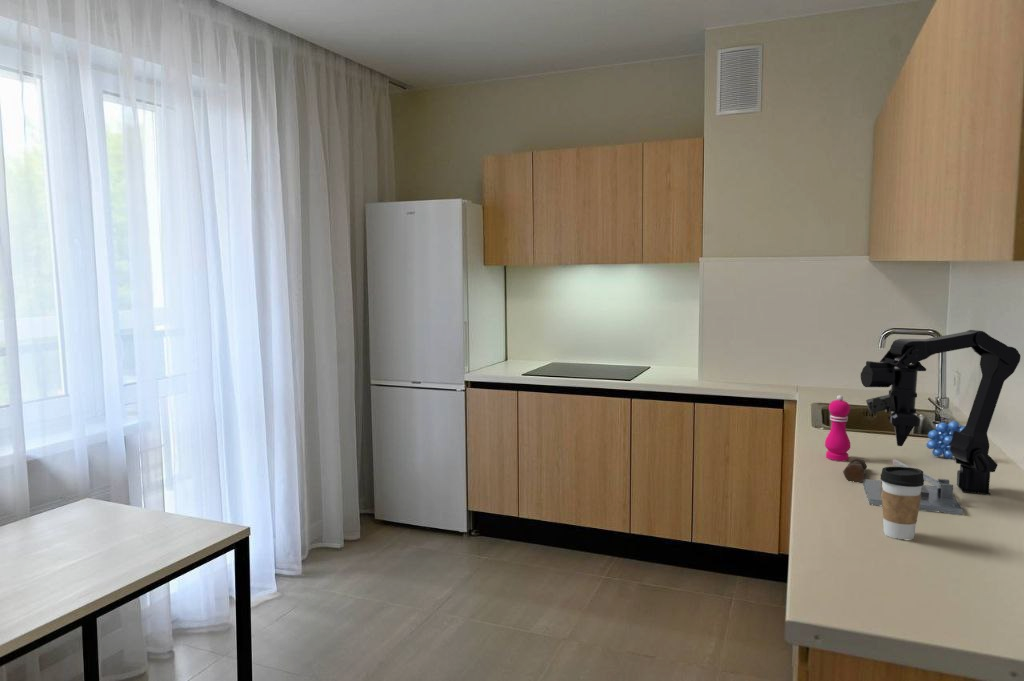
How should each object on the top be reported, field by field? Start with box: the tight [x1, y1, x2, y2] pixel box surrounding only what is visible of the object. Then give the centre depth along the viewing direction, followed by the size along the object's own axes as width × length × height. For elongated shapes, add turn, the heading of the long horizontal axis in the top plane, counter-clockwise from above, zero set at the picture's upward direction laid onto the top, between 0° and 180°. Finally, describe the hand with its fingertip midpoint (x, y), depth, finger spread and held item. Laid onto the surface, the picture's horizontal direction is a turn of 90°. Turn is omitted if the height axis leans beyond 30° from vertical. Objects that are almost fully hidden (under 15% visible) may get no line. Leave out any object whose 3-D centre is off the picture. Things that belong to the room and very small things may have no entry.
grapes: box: [925, 420, 966, 459], centre depth 218 cm, size 12×7×12 cm, turn 66°
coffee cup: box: [879, 466, 925, 540], centre depth 154 cm, size 8×8×15 cm
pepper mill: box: [824, 394, 851, 462], centre depth 216 cm, size 7×7×20 cm
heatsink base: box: [862, 478, 964, 516], centre depth 179 cm, size 20×18×5 cm
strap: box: [892, 458, 943, 489], centre depth 179 cm, size 14×3×1 cm, turn 68°
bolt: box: [842, 457, 868, 483], centre depth 200 cm, size 6×5×15 cm
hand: (899, 445), depth 184 cm, fingers closed
